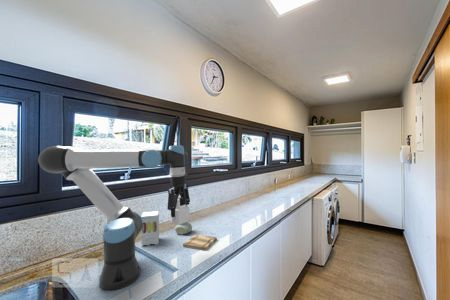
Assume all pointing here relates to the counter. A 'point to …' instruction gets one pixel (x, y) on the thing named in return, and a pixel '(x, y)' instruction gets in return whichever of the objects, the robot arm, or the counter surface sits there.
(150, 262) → the counter surface
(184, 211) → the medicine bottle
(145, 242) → the supplement box
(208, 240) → the trivet
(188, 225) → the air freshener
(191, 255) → the counter surface
